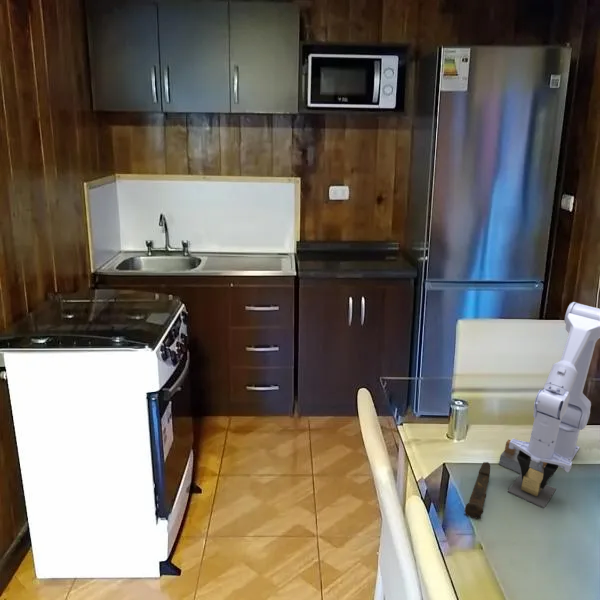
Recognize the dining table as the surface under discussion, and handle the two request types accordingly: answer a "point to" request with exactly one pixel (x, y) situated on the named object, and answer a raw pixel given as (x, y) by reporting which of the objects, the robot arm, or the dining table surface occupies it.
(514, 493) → the mat
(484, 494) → the hand tool
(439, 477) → the dining table surface
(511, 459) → the body
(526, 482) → the tan cube
